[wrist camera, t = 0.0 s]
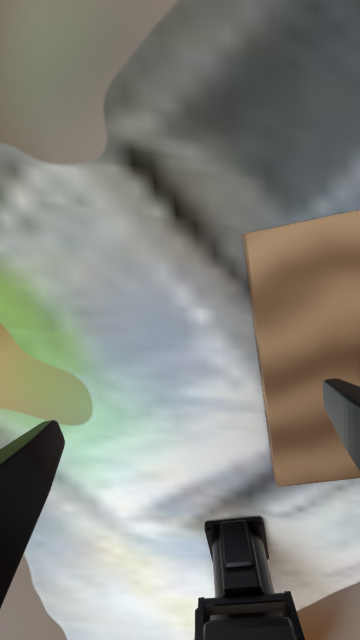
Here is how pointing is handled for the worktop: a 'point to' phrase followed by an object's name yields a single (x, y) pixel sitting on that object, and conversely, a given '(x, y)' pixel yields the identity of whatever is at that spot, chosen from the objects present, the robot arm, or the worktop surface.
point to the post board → (306, 338)
